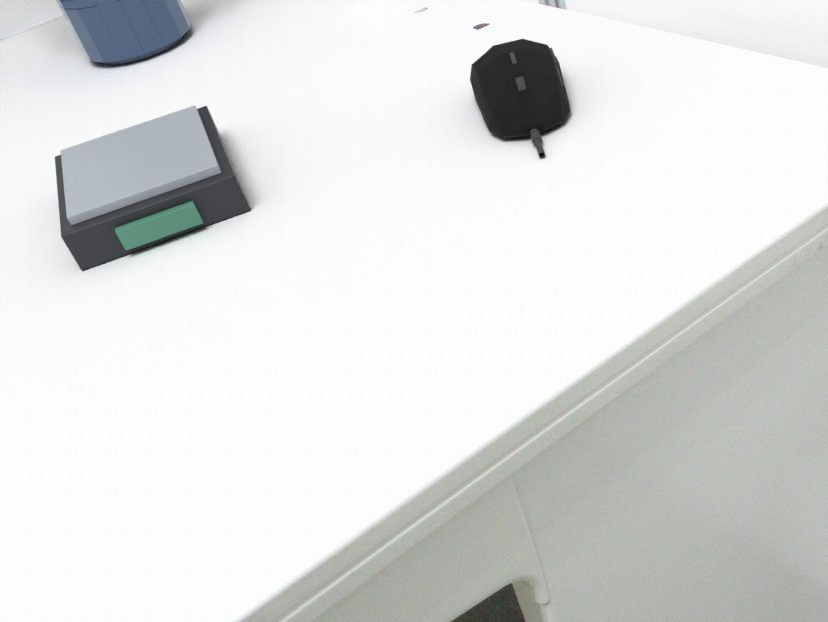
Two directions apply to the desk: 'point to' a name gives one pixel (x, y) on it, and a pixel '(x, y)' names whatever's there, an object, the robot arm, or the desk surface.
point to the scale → (145, 186)
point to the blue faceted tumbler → (125, 27)
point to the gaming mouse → (520, 90)
